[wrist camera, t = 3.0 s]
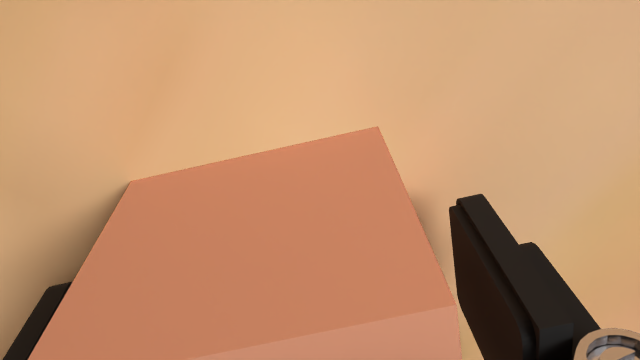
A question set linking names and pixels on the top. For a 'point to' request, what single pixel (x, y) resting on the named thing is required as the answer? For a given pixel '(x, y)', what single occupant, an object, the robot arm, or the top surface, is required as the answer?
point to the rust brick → (262, 265)
